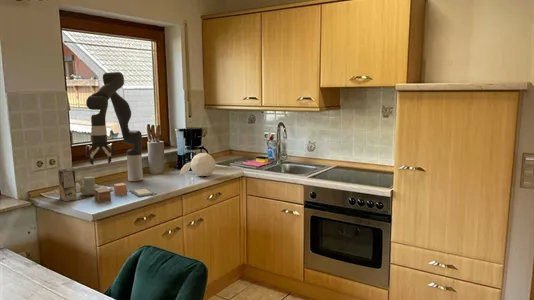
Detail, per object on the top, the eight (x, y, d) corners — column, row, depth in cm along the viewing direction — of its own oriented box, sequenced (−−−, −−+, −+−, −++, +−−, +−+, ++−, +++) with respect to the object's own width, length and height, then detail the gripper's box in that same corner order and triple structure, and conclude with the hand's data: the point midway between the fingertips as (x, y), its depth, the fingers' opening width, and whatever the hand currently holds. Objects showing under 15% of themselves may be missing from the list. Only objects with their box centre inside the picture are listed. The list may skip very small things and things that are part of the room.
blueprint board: (129, 191, 240) (129, 189, 240) (146, 188, 246) (146, 187, 246) (138, 197, 227) (138, 195, 227) (156, 194, 232) (156, 193, 232)
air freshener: (101, 194, 232) (100, 177, 230) (86, 197, 226) (85, 180, 225) (93, 191, 240) (92, 174, 238) (79, 193, 234) (78, 177, 232)
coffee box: (77, 199, 223) (75, 170, 220) (65, 201, 218) (62, 172, 216) (71, 196, 229) (69, 168, 227) (59, 198, 225) (57, 169, 222)
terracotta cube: (114, 193, 236) (113, 184, 235) (124, 191, 239) (123, 182, 238) (117, 195, 231) (116, 185, 230) (126, 193, 234) (126, 184, 234)
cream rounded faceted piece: (211, 149, 273) (192, 145, 295) (187, 171, 264) (169, 165, 286) (224, 167, 281) (204, 161, 303) (201, 189, 272) (182, 181, 294)
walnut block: (94, 199, 223) (94, 188, 222) (106, 197, 227) (105, 187, 226) (99, 203, 215) (98, 192, 214) (111, 201, 219) (110, 190, 218)
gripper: (111, 132, 223) (112, 161, 225) (83, 134, 214) (85, 164, 217) (114, 133, 217) (116, 163, 219) (86, 135, 208) (88, 166, 211)
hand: (100, 163), depth 218 cm, fingers open, 8 cm apart
